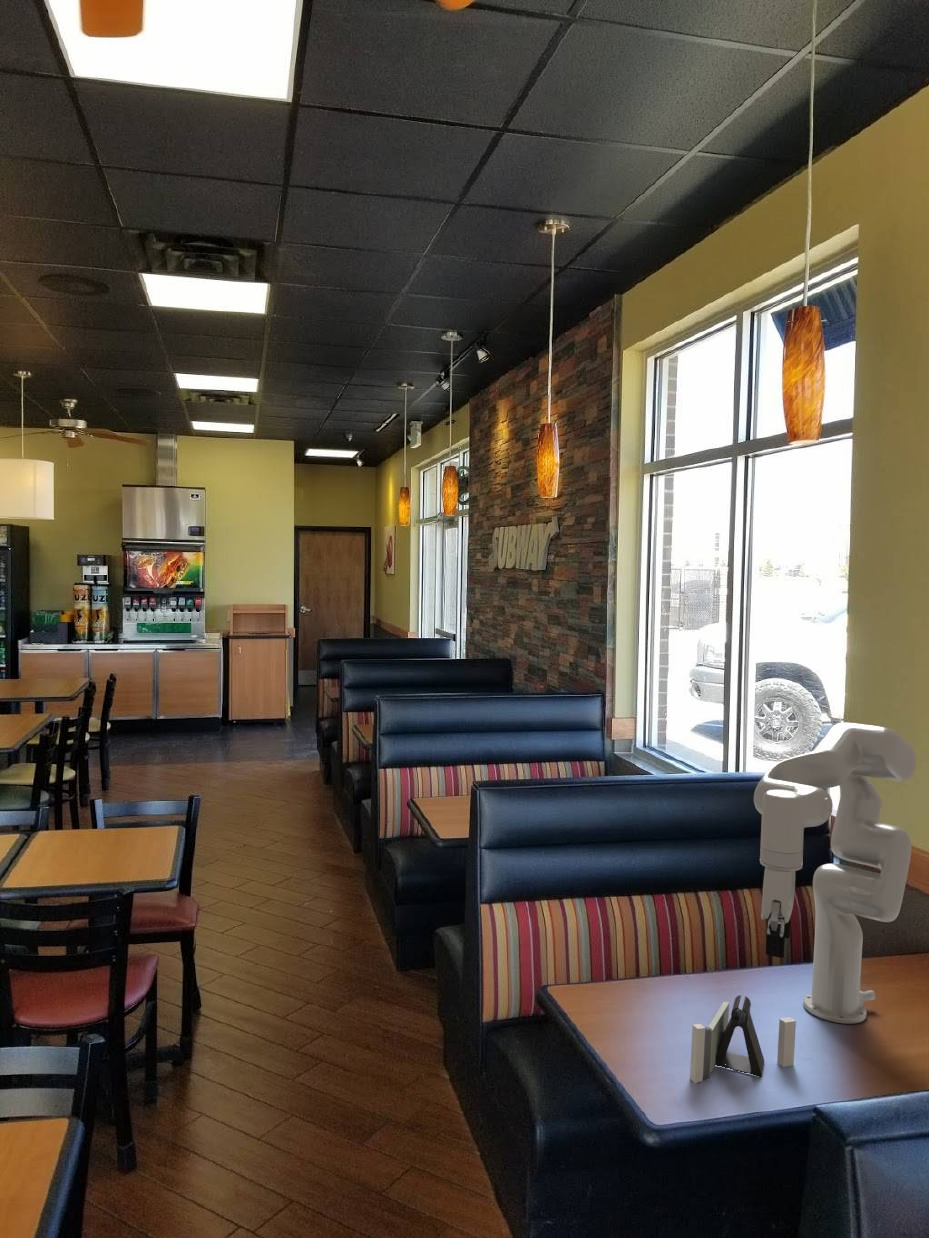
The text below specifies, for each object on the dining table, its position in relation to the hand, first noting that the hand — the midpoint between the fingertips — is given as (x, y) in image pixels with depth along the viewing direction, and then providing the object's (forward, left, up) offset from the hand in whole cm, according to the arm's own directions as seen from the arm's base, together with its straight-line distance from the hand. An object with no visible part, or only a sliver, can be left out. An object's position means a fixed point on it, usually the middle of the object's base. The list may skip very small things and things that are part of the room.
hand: (777, 946), depth 168 cm
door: (+10, -4, -22) cm, 25 cm away
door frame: (+7, +1, -23) cm, 24 cm away
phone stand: (+6, -2, -23) cm, 24 cm away
